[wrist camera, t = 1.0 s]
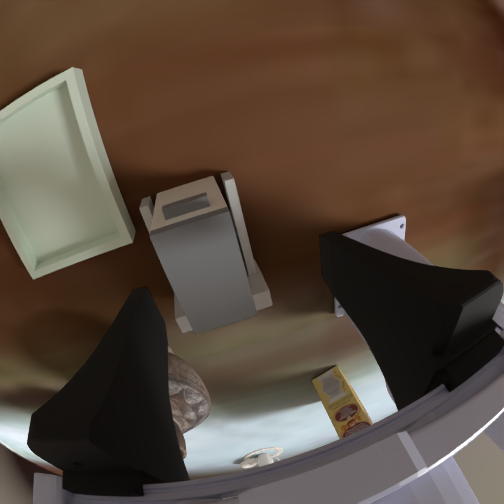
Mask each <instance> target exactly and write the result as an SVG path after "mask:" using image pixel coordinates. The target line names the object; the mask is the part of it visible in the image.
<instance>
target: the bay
mask: <svg viewBox="0 0 504 504" xmlns="http://www.w3.org/2000/svg"><path fill="white" fill-rule="evenodd" d="M221 178H222V181H223V185H224V189H225V193H226V197H227V200H228V204H229V208H230V212H231V216H232V219H233V223H234V227H235V231H236V234H237V238H238V242H239V245H240V249H241V253H242V257H243V260H244V267H245V270H246V274H247V278H248V281H249V285H250V289H251V292H252V296H253V300H254V303H255V307H256V310H260V309H263V308H266V307H270V306H273V304H272V300H271V295H270V291H269V288H268V286H267V284H266V282H265V280H264V278H263V275H262V273H261V271H260V269H259V267H258V265H257V263H256V261H255V260H254V259H253V255H252V250H251V246H250V242H249V238H248V234H247V230H246V226H245V222H244V218H243V214H242V210H241V206H240V202H239V198H238V194H237V190H236V185H235V181H234V178H233V176H232V175H231V174H230V172H225V173H222V174H221ZM139 209H140V212H141V214H142V217H143V219H144V222H145V224H146V227H147V229H148V232H149V234H150V230H151V224H152V219H153V213H154V205H153V202H152V199H151V197H150V196H149V197H146V198H143V199H142V201H141V204H140V207H139ZM174 306H175V320H176V321H177V323H178V325H179V327H180V329H181V331H182V333H184V332H188V331H191V330H193V329H192V327H191V325H190V323H189V321H188V319H187V317H186V315H185V313H184V311H183V309H182V307H181V305H180V303H179V301H178V299H177V297H176V295H175V293H174Z"/></svg>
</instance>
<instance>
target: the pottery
mask: <svg viewBox="0 0 504 504" xmlns="http://www.w3.org/2000/svg"><path fill="white" fill-rule="evenodd" d="M168 378H169V397H170V404H171V409H172V415H173V420H174V425H175V430H176V434H177V439H178V442H179V446H180V450H181V454H182V457H183V459H184V458H185V457H186V455H187V453H186V444H185V440H184V436H183V434H184V433H186V432H187V431H189V430H191V429H193V428H194V427H196V426H198V425H199V424H200V423H202V422H203V421H204V420H205V419H206V418H207V416H208V415H209V413H210V410H211V401H210V398H209V394H208V392H207V389H206V387H205V385H204V384H203V382H202V380H201V378H200V377H199V376H198V375H197V373H196V372H195V371H194V370H193V369H192V368H191V367H190V366H189V365H188V364H187V363H186V362H185V361H183V360H182V359H181V358H179V357H178V356H176V355H174V353H173V351H172V350H171V348H170V347H169V346H168Z"/></svg>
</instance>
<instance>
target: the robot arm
mask: <svg viewBox="0 0 504 504" xmlns="http://www.w3.org/2000/svg"><path fill="white" fill-rule="evenodd" d="M400 225H401V226H400ZM405 225H406V218H405V217H404V216H403V215H399V216H396V217H393V218H390V219H387V220H384V221H381V222H378V223H375V224H372V225H369V226H366V227H362V228H359V229H356V230H353V231H350V232H347V233H344V234H339V233H336V232H333V231H331V232H328V233H325V234H321V235H319V241H320V255H321V271H322V276H323V278H324V280H325V282H326V284H327V286H328V287H329V289H330V291H331V293H332V294H333V295H334V305H335V315H336V316H338V317H339V316H342V315H345V314H346V316H347V317H348V319H349V320H350V321H351V323H352V324H353V326H354V327H355V329H356V330H357V332H358V333H359V334H360V336H361V337H362V339H363V340H364V342H365V343H366V345H367V346H368V348H369V349H370V350H371V352H372V353H373V355H374V357H375V359H376V361H377V363H378V365H379V367H380V369H381V371H382V373H383V375H384V378H385V381H386V387H387V390H388V392H389V395H390V396H391V398H392V400H393V401H394V403H395V404H396V407H397V409H398V411H397V412H396V413H394V414H392V415H390V416H388V417H386V418H384V419H382V420H380V421H379V422H377V423H374V424H372V425H370V426H368V427H366V428H364V429H362V430H360V431H358V432H355V433H353V434H351V435H349V436H346V437H344V438H342V439H339V440H337V441H335V442H332V443H330V444H327V445H324V446H322V447H319V448H317V449H314V450H311V451H308V452H305V453H303V454H300V455H297V456H294V457H290V458H287V459H284V460H281V461H278V462H274V463H271V464H267V465H263V466H260V467H256V468H252V469H248V470H243V471H239V472H234V473H230V474H225V475H220V476H214V477H209V478H202V479H196V480H190V479H189V476H188V473H187V470H186V467H185V464H184V461H183V457H182V454H181V450H180V446H179V442H178V439H177V434H176V430H175V425H174V420H173V415H172V409H171V404H170V397H169V378H168V341H167V333H166V326H165V321H164V319H163V317H162V316H161V314H160V312H159V310H158V308H157V306H156V304H155V302H154V300H153V298H152V296H151V294H150V292H149V290H148V288H147V286H145V287H142V288H138V289H135V290H133V291H132V292H131V294H130V295H129V297H128V298H127V300H126V302H125V303H124V305H123V307H122V308H121V310H120V312H119V313H118V315H117V317H116V319H115V320H114V322H113V324H112V325H111V327H110V328H109V330H108V331H107V333H106V335H105V336H104V338H103V339H102V341H101V342H100V344H99V345H98V347H97V348H96V350H95V351H94V352H93V354H92V355H91V356H90V358H89V359H88V360H87V361H86V363H85V364H84V365H83V366H82V367H81V369H80V370H79V371H78V372H77V373H76V374H75V375H74V377H73V378H72V379H71V380H70V381H69V382H68V383H67V384H66V385H65V386H64V387H63V388H62V389H61V390H60V391H59V392H58V393H57V394H56V395H55V396H54V397H52V398H51V399H50V400H49V401H48V402H46V403H45V404H44V405H43V406H42V407H40V408H39V409H38V410H37V411H35V412H34V413H33V414H32V416H31V421H30V427H29V433H28V440H27V445H28V447H29V448H30V450H31V451H32V452H33V453H34V454H36V455H37V456H39V457H40V458H42V459H43V460H45V461H47V462H48V463H50V464H52V465H54V466H55V467H57V468H59V469H61V470H63V478H62V477H60V476H56V475H50V474H42V473H35V474H34V490H33V491H34V492H33V504H479V502H478V500H477V498H476V496H475V495H474V493H473V491H472V489H471V487H470V486H469V484H468V482H467V480H466V479H465V477H464V475H463V473H462V472H461V470H460V468H459V467H458V465H457V463H456V461H455V460H454V458H453V455H455V454H456V453H457V452H459V451H460V450H461V449H462V448H464V447H465V446H466V445H467V444H469V443H470V442H471V441H472V440H474V439H475V438H476V437H477V436H478V435H479V434H481V433H482V432H484V433H485V434H486V435H487V436H488V437H489V438H490V439H491V440H492V441H493V442H494V443H495V444H496V445H497V446H498V447H499V448H500V449H502V451H503V452H504V304H503V303H502V302H500V301H501V298H502V295H503V283H502V282H501V281H500V280H499V279H498V278H496V277H495V276H494V275H493V274H492V273H491V272H489V271H488V270H461V269H452V268H444V267H438V266H434V265H433V264H432V263H431V262H430V261H428V260H427V259H426V258H425V257H424V256H422V255H421V254H420V253H419V252H418V251H416V250H415V249H414V248H413V247H411V246H410V245H409V244H408V243H406V242H405V241H404V238H405ZM232 496H237V497H233V498H230V499H225V500H223V499H222V498H227V497H232Z"/></svg>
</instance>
